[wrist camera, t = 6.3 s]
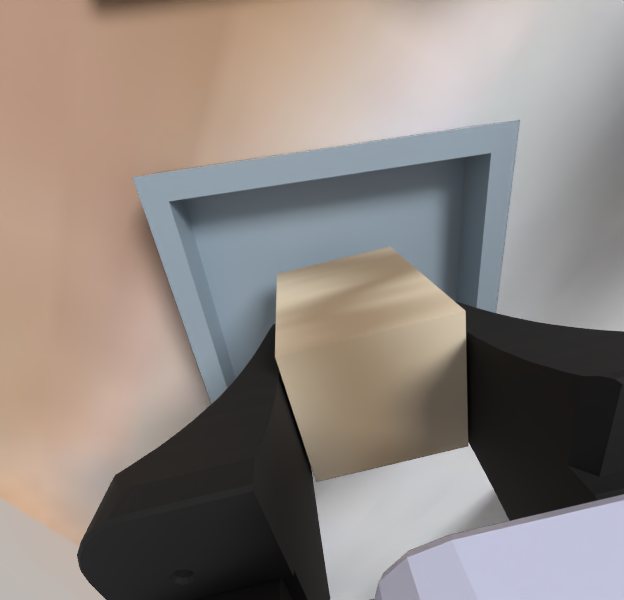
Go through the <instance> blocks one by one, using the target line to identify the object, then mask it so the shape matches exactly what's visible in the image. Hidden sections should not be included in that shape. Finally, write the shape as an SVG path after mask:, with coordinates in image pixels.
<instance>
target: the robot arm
mask: <svg viewBox="0 0 624 600" xmlns="http://www.w3.org/2000/svg"><path fill="white" fill-rule="evenodd" d="M453 301H454V300H453ZM455 302H456V303H457V304H458V305H459V306H461V307H462V308H463V309H464V310H465V311H466V357H467V407H468V442H469V444H470V445H471V447H472V449H473V451H474V453H475V454H476V456H477V458H478V460H479V462H480V464H481V466H482V468H483V470H484V471H485V473H486V475H487V477H488V479H489V481H490V483H491V485H492V487H493V488H494V490H495V492H496V494H497V496H498V498H499V500H500V502H501V504H502V506H503V508H504V510H505V512H506V514H507V516H508V518H509V520H510V521H507V522H503V523H499V524H494V525H490V526H486V527H482V528H477V529H473V530H469V531H464V532H460V533H456V534H452V535H447V536H445V537H442V538H440V539H437V540H435V541H432V542H430V543H427V544H425V545H422V546H419V547H417V548H414V549H412V550H409V551H408V552H407V553H406V554H404V555H403V556H402V557H401V558H400V559H399V560H398V561H396V562H395V563H394V564H393V565H392V566H391V567H390V568H388V569H387V570H386V571H385V572H384V573H383V575H382V577H381V579H380V581H379V582H378V587H377V591H376V595H375V599H371V600H624V332H621V331H605V330H594V329H583V328H574V327H567V326H559V325H551V324H545V323H539V322H533V321H528V320H523V319H518V318H513V317H509V316H505V315H501V314H497V313H493V312H490V311H486V310H482V309H479V308H476V307H472V306H469V305H466V304H463V303H460V302H457V301H455ZM275 333H276V324H273V325H272V327H271V328H270V330H269V331H268V333H267V335H266V336H265V338H264V340H263V341H262V343H261V345H260V346H259V348H258V349H257V351H256V352H255V354H254V355H253V357H252V358H251V360H250V361H249V362H248V364H247V365H246V366H245V368H244V369H243V370H242V372H241V373H240V374H239V376H238V377H237V378H236V379H235V380H234V382H233V383H232V384H231V385H230V386H229V387H228V388H227V389H226V390H225V391H224V392H223V394H222V395H221V396H220V397H219V398H218V399H217V400H215V401H214V402H213V403H212V404H211V405H210V406H209V407H208V408H207V409H206V410H205V411H203V412H202V413H201V414H200V415H199V416H198V417H197V418H196V419H195V420H193V421H192V422H191V423H190V424H188V425H187V426H186V427H185V428H183V429H182V430H181V431H180V432H178V433H177V434H176V435H174V436H173V437H172V438H170V439H169V440H168V441H166V442H165V443H164V444H162V445H161V446H159V447H158V448H157V449H155V450H154V451H152V452H150V453H149V454H147V455H146V456H144V457H143V458H141V459H140V460H138V461H137V462H135V463H134V464H132V465H131V466H129V467H128V468H126V469H125V470H123V471H121V472H120V473H118V474H116V475H115V477H114V478H113V480H112V482H111V484H110V486H109V488H108V490H107V492H106V494H105V496H104V498H103V500H102V502H101V504H100V506H99V508H98V510H97V512H96V514H95V515H94V517H93V519H92V521H91V523H90V525H89V527H88V529H87V531H86V533H85V535H84V537H83V539H82V541H81V543H80V547H79V550H78V554H77V557H78V562H79V567H80V570H81V572H82V573H83V575H84V576H85V577H86V579H87V580H88V581H89V583H90V584H91V585H92V586H93V587H94V588H95V589H96V590H97V591H98V592H99V593H100V594H101V595H102V596H103V597H104V598H105V599H106V600H330V594H329V588H328V582H327V575H326V569H325V562H324V555H323V548H322V542H321V535H320V528H319V521H318V514H317V507H316V500H315V492H314V485H313V477H312V470H311V464H310V461H309V458H308V455H307V452H306V449H305V446H304V443H303V440H302V437H301V434H300V431H299V428H298V425H297V422H296V419H295V416H294V413H293V410H292V407H291V404H290V401H289V398H288V395H287V392H286V389H285V386H284V383H283V380H282V377H281V374H280V371H279V367H278V364H277V361H276V358H275Z"/></svg>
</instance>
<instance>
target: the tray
mask: <svg viewBox="0 0 624 600" xmlns="http://www.w3.org/2000/svg"><path fill="white" fill-rule="evenodd" d="M519 123H520V120H517V121H509V122H501V123H493V124H486V125H478V126H472V127H465V128H458V129H451V130H445V131H438V132H431V133H424V134H418V135H411V136H404V137H397V138H390V139H384V140H377V141H370V142H363V143H357V144H350V145H343V146H336V147H330V148H323V149H316V150H309V151H302V152H296V153H289V154H282V155H275V156H269V157H262V158H255V159H248V160H241V161H235V162H228V163H221V164H214V165H208V166H201V167H194V168H187V169H181V170H174V171H167V172H160V173H154V174H148V175H143V176H137V177H133V180H134V183H135V186H136V189H137V192H138V195H139V198H140V200H141V203H142V206H143V209H144V212H145V215H146V218H147V220H148V223H149V226H150V229H151V232H152V235H153V238H154V241H155V243H156V246H157V249H158V252H159V255H160V258H161V261H162V264H163V266H164V269H165V272H166V275H167V278H168V281H169V284H170V287H171V289H172V292H173V295H174V298H175V301H176V304H177V307H178V310H179V312H180V315H181V318H182V321H183V324H184V327H185V330H186V333H187V335H188V338H189V341H190V344H191V347H192V350H193V353H194V356H195V358H196V361H197V364H198V367H199V370H200V373H201V376H202V379H203V381H204V384H205V387H206V390H207V393H208V396H209V399H210V401H211V404H212V403H213V402H214V401H215V400H217V399H218V398H219V397H220V396H221V395H222V394H223V392H224V391H225V390H226V389H227V388H228V387H229V386H230V385H231V384H232V383H233V382H234V380H235V379H236V378H237V377H238V376H239V374H240V373H241V372H242V370H243V369H244V368H245V366H246V365H247V364H248V362H249V361H250V360H251V358H252V357H253V355H254V354H255V352H256V351H257V349H258V348H259V346H260V345H261V343H262V341H263V340H264V338H265V336H266V335H267V333H268V331H269V330H270V328H271V327H272V325H273V324H276V291H277V274H278V273H282V272H287V271H291V270H295V269H299V268H303V267H307V266H311V265H315V264H319V263H323V262H328V261H332V260H336V259H340V258H344V257H348V256H352V255H356V254H360V253H365V252H369V251H373V250H377V249H381V248H385V247H389V246H390V247H391V248H392V249H394V250H395V251H396V252H397V253H398V254H399V255H401V256H402V257H403V258H404V259H405V260H407V261H408V262H409V263H410V264H411V265H412V266H414V267H415V268H416V269H417V270H418V271H419V272H421V273H422V274H423V275H424V276H425V277H426V278H428V279H429V280H430V281H431V282H432V283H434V284H435V285H436V286H437V287H438V288H439V289H441V290H442V291H443V292H444V293H445V294H446V295H448V296H449V297H450V298H451V299H452V300H454V301H457V302H460V303H463V304H466V305H469V306H472V307H476V308H479V309H482V310H486V311H490V312H493V313H496V308H497V300H498V292H499V284H500V276H501V268H502V260H503V252H504V244H505V236H506V228H507V220H508V212H509V203H510V195H511V187H512V179H513V171H514V163H515V155H516V147H517V139H518V131H519Z"/></svg>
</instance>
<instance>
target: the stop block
mask: <svg viewBox="0 0 624 600" xmlns="http://www.w3.org/2000/svg"><path fill="white" fill-rule="evenodd" d="M275 358H276V361H277V364H278V367H279V371H280V374H281V377H282V380H283V383H284V386H285V389H286V392H287V395H288V398H289V401H290V404H291V407H292V410H293V413H294V416H295V419H296V422H297V425H298V428H299V431H300V434H301V437H302V440H303V443H304V446H305V449H306V452H307V455H308V458H309V461H310V464H311V467H312V470H313V473H314V476H315V479H316V482H319V481H323V480H327V479H331V478H335V477H340V476H344V475H348V474H352V473H357V472H361V471H365V470H369V469H374V468H378V467H382V466H386V465H391V464H395V463H399V462H403V461H407V460H412V459H416V458H420V457H424V456H429V455H433V454H437V453H441V452H446V451H450V450H454V449H458V448H463V447H467V446H468V407H467V357H466V311H465V310H464V309H463V308H462V307H461V306H459V305H458V304H457V303H456V302H455V301H453V300H452V299H451V298H450V297H449V296H448V295H446V294H445V293H444V292H443V291H442V290H441V289H439V288H438V287H437V286H436V285H435V284H434V283H432V282H431V281H430V280H429V279H428V278H426V277H425V276H424V275H423V274H422V273H421V272H419V271H418V270H417V269H416V268H415V267H414V266H412V265H411V264H410V263H409V262H408V261H407V260H405V259H404V258H403V257H402V256H401V255H399V254H398V253H397V252H396V251H395V250H394V249H392V248H391V247H390V246H389V247H385V248H381V249H377V250H373V251H369V252H365V253H360V254H356V255H352V256H348V257H344V258H340V259H336V260H332V261H328V262H323V263H319V264H315V265H311V266H307V267H303V268H299V269H295V270H291V271H287V272H282V273H278V274H277V291H276V333H275Z"/></svg>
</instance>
